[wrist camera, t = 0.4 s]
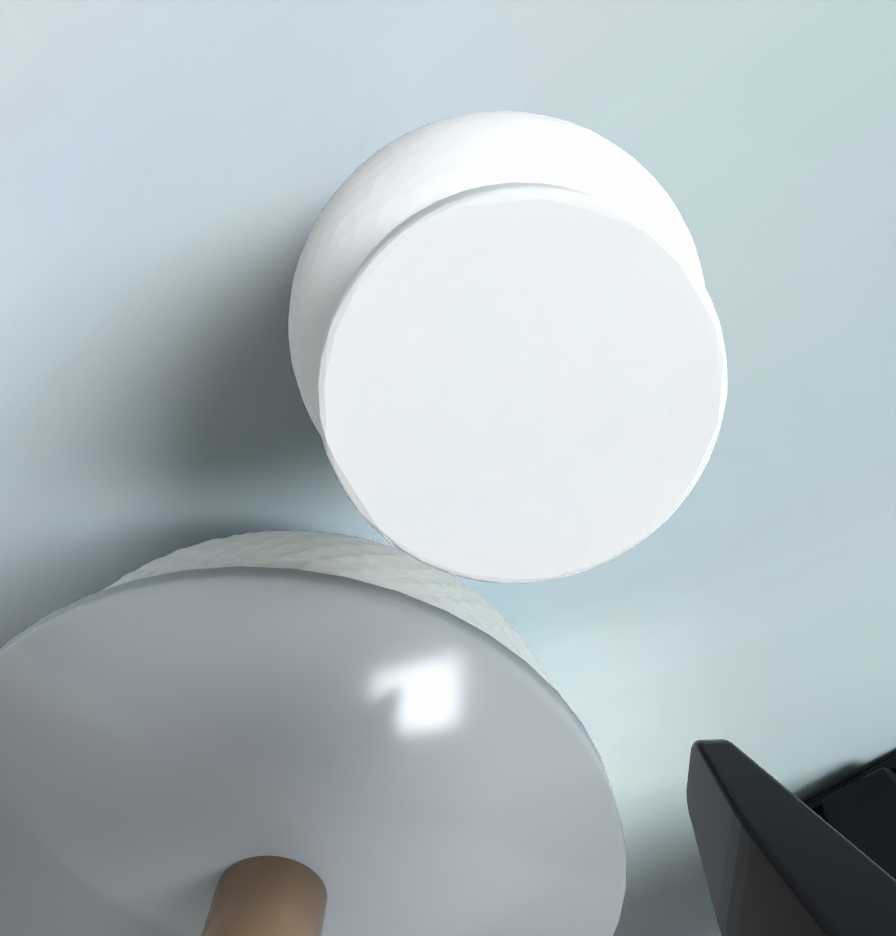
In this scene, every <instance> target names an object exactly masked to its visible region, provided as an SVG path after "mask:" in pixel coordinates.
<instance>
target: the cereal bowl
mask: <svg viewBox="0 0 896 936" xmlns="http://www.w3.org/2000/svg"><path fill="white" fill-rule="evenodd" d="M235 566H247V567H269V568H292V569H299V570H305V571H312V572H318V573H324V574H331V575H337V576H343V577H348V578H352V579H356V580H359V581H363V582H367V583H370V584H374V585H377V586H381V587H385V588H388V589H392V590H396V591H399V592H401V593H404V594H406V595H409V596H411V597H414V598H416V599H419V600H421V601H423V602H426V603H428V604H431V605H433V606H436V607H438V608H441V609H443V610H446V611H447V612H449V613H451V614H453V615H455V616H457V617H458V618H460V619H462V620H464V621H466V622H467V623H469V624H471V625H473V626H475V627H477V628H478V629H480V630H482V631H484V632H486V633H487V634H489V635H490V636H492V637H493V638H495V639H496V640H497V641H499V642H500V643H501V644H503V645H504V646H506V647H507V648H508V649H510V650H511V651H512V652H514V653H515V654H517V655H518V656H519V657H521V658H522V659H523V660H525V661H526V662H527V663H528V664H529V665H530V666H531V667H532V668H533V669H534V670H535V671H537V672H538V673H539V674H540V675H541V676H542V677H543V678H544V679H545V680H546V681H547V682H548V683H549V684H550V685H551V683H550V680H549V678H548V676H547V673H546V672H545V671H544V670H543V668H542V667H541V666H540V664H539V662H538V660H537V658H536V656H535V655H534V653H533V652H532V651H531V650H530V649H529V648H528V646H527V645H526V644H525V642H524V641H523V639H522V637H521V635H520V634H519V633H518V632H517V631H516V630H515V629H514V628H512V627H511V626H510V625H509V623H508V622H507V620H506V619H505V618H504V616H503V615H501V614H500V613H499V611H498V610H496V609H495V608H494V607H492V606H491V605H490V604H489V603H488V602H487V601H485V600H484V599H483V598H482V597H481V596H480V595H479V594H477V593H475V592H474V591H473V590H472V589H470V588H469V587H468V586H466V585H465V584H464V583H462V582H461V581H459V580H458V579H457V578H456V577H454V576H452V575H450V574H448V573H446V572H444V571H441V570H438V569H435V568H433V567H431V566H429V565H427V564H425V563H422V562H420V561H418V560H417V559H415V558H413V557H411V556H410V555H408V554H406V553H405V552H403V551H401V550H398V549H395V548H392V547H389V546H385V545H382V544H380V543H377V542H375V541H371V540H364V539H360V538H357V537H351V536H345V535H341V534H331V533H324V532H307V531H300V530H299V531H282V530H281V531H275V532H274V531H263V532H259V533H250V532H248V533H245V534H242V535H232V536H229V537H226V538H217V539H211V540H209V541H204V542H202V543H200V544H197V545H194V546H190V547H188V548H182V549H178V550H176V551H174V552H172V553H170V554H169V555H167V556H165V557H161V558H157V559H154V560H153V561H151V562H149V563H146V564H145V565H143V566H142V567H140V568H139V569H137V570H135V571H132V572H130V573H128V574H125V575H124V576H123V577H121V578H120V579H119V580H118V581H117V582H115V583H113V584H112V585H110V586H108V587H106V588H103V589H102V590H105V589H108V588H111V587H114V586H117V585H120V584H123V583H126V582H129V581H133V580H136V579H141V578H146V577H152V576H157V575H162V574H167V573H172V572H178V571H183V570H192V569H206V568H220V567H235ZM102 590H101V591H102ZM551 686H552V685H551Z"/></svg>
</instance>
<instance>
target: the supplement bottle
mask: <svg viewBox="0 0 896 936" xmlns="http://www.w3.org/2000/svg"><path fill="white" fill-rule="evenodd" d="M288 335H289V345H290V354H291V360H292V366H293V369H294V373H295V377H296V380H297V384H298V387H299V390H300V393H301V396H302V399H303V402H304V404H305V407H306V409H307V411H308V413H309V415H310V417H311V419H312V421H313V423H314V425H315V427H316V429H317V431H318V432H319V434H320V435H321V437H322V440H323V444H324V448H325V451H326V453H327V456H328V459H329V461H330V464H331V466H332V468H333V471H334V473H335V475H336V477H337V479H338V481H339V483H340V485H341V486H342V488H343V490H344V491H345V493H346V494H347V496H348V498H349V499H350V501H351V502H352V504H353V505H354V506H355V507H356V508H357V510H358V511H359V512H360V513H361V514H362V516H363V517H364V518H365V519H366V520H367V521H368V522H369V524H370V525H371V526H372V527H373V528H374V529H375V530H376V531H377V532H378V533H380V534H381V535H382V536H383V537H384V538H385V539H387V540H388V541H389V542H390V543H392V544H393V545H394V546H395V547H397V548H399V549H400V550H402V551H403V552H405V553H406V554H408V555H410V556H411V557H413V558H415V559H417V560H418V561H420V562H422V563H425V564H427V565H429V566H431V567H433V568H435V569H438V570H441V571H444V572H447V573H450V574H454V575H457V576H461V577H464V578H468V579H473V580H479V581H484V582H494V583H532V582H541V581H550V580H555V579H559V578H563V577H567V576H571V575H575V574H578V573H581V572H584V571H587V570H590V569H592V568H595V567H597V566H599V565H602V564H604V563H606V562H608V561H610V560H612V559H613V558H615V557H617V556H619V555H621V554H623V553H624V552H626V551H628V550H629V549H631V548H633V547H634V546H636V545H637V544H638V543H640V542H641V541H642V540H644V539H645V538H646V537H648V536H649V535H651V534H652V533H653V532H654V531H655V530H656V529H657V528H658V527H659V526H661V525H662V524H663V523H664V522H665V521H666V520H668V518H669V517H670V516H671V515H672V514H673V513H674V512H675V510H676V509H677V508H678V507H679V506H680V505H681V504H682V502H683V501H684V500H685V498H686V497H687V495H688V494H689V493H690V491H691V490H692V489H693V487H694V486H695V484H696V482H697V481H698V479H699V477H700V476H701V474H702V472H703V470H704V468H705V466H706V465H707V463H708V461H709V459H710V456H711V453H712V451H713V448H714V445H715V443H716V440H717V438H718V434H719V431H720V427H721V423H722V419H723V414H724V408H725V403H726V398H727V361H726V353H725V346H724V341H723V336H722V331H721V326H720V322H719V319H718V316H717V314H716V311H715V309H714V306H713V304H712V301H711V298H710V296H709V294H708V292H707V290H706V288H705V284H704V279H703V274H702V269H701V265H700V262H699V258H698V254H697V251H696V247H695V244H694V242H693V240H692V237H691V235H690V232H689V230H688V228H687V226H686V224H685V222H684V220H683V219H682V217H681V215H680V213H679V211H678V209H677V208H676V206H675V205H674V203H673V201H672V200H671V198H670V197H669V195H668V194H667V193H666V191H665V190H664V189H663V188H662V187H661V185H660V184H659V183H658V182H657V181H656V179H655V178H654V177H653V176H652V175H651V174H650V173H649V172H648V171H647V170H646V169H645V168H644V167H643V166H642V165H641V164H639V163H638V162H637V161H636V160H635V159H634V158H633V157H632V156H630V155H629V154H628V153H626V152H625V151H624V150H622V149H621V148H619V147H618V146H616V145H615V144H613V143H612V142H610V141H609V140H607V139H605V138H603V137H602V136H600V135H598V134H596V133H594V132H593V131H591V130H589V129H587V128H584V127H581V126H579V125H576V124H574V123H571V122H568V121H566V120H562V119H558V118H554V117H550V116H546V115H541V114H534V113H527V112H517V111H485V112H477V113H469V114H462V115H458V116H453V117H449V118H445V119H442V120H439V121H436V122H433V123H430V124H428V125H425V126H423V127H421V128H418V129H416V130H414V131H411V132H409V133H406V134H405V135H403V136H401V137H400V138H398V139H396V140H395V141H393V142H391V143H390V144H388V145H387V146H385V147H383V148H382V149H380V150H379V151H377V152H376V153H375V154H374V155H372V156H371V157H370V158H369V159H368V160H366V161H365V162H364V163H363V164H361V165H360V166H359V167H358V168H357V169H356V170H355V171H354V172H353V173H352V174H351V175H350V176H349V178H348V179H347V180H346V181H345V182H344V183H343V184H342V185H341V186H340V187H339V189H338V190H337V191H336V192H335V193H334V195H333V196H332V197H331V199H330V200H329V202H328V203H327V204H326V206H325V207H324V208H323V210H322V211H321V213H320V215H319V217H318V219H317V221H316V222H315V224H314V226H313V228H312V230H311V232H310V234H309V236H308V238H307V241H306V243H305V246H304V248H303V250H302V253H301V255H300V258H299V261H298V265H297V268H296V271H295V275H294V278H293V284H292V291H291V297H290V308H289V321H288Z"/></svg>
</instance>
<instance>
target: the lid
mask: <svg viewBox="0 0 896 936" xmlns="http://www.w3.org/2000/svg"><path fill="white" fill-rule="evenodd" d="M626 865H627V856H626V849H625V843H624V837H623V830H622V824H621V820H620V816H619V813H618V809H617V806H616V802H615V799H614V795H613V791H612V788H611V785H610V783H609V780H608V777H607V774H606V771H605V768H604V765H603V762H602V760H601V757H600V755H599V753H598V751H597V749H596V748H595V746H594V744H593V742H592V740H591V739H590V737H589V735H588V733H587V731H586V729H585V728H584V726H583V724H582V723H581V721H580V720H579V719H578V717H577V716H576V715H575V714H574V712H573V711H572V710H571V708H570V707H569V706H568V705H567V703H566V702H565V701H564V699H563V698H562V697H561V696H560V694H559V693H558V692H557V691H556V690H555V689H554V688H553V687H552V686H551V685H550V684H549V683H548V682H547V681H546V680H545V679H544V678H543V677H542V676H541V675H540V674H539V673H538V672H537V671H535V670H534V669H533V668H532V667H531V666H530V665H529V664H528V663H527V662H526V661H525V660H523V659H522V658H521V657H519V656H518V655H517V654H515V653H514V652H512V651H511V650H510V649H508V648H507V647H506V646H504V645H503V644H501V643H500V642H499V641H497V640H496V639H495V638H493V637H492V636H490V635H489V634H487V633H486V632H484V631H482V630H480V629H478V628H477V627H475V626H473V625H471V624H469V623H467V622H466V621H464V620H462V619H460V618H458V617H457V616H455V615H453V614H451V613H449V612H447V611H446V610H443V609H441V608H438V607H436V606H433V605H431V604H428V603H426V602H423V601H421V600H419V599H416V598H414V597H411V596H409V595H406V594H404V593H401V592H399V591H396V590H392V589H388V588H385V587H381V586H377V585H374V584H370V583H367V582H363V581H359V580H356V579H352V578H348V577H343V576H337V575H331V574H324V573H318V572H312V571H305V570H299V569H292V568H269V567H247V566H235V567H220V568H206V569H192V570H183V571H178V572H172V573H167V574H162V575H157V576H152V577H146V578H141V579H136V580H133V581H129V582H126V583H123V584H120V585H117V586H114V587H111V588H108V589H105V590H102V591H99V592H96V593H93V594H90V595H87V596H85V597H83V598H81V599H79V600H77V601H75V602H73V603H70V604H68V605H66V606H64V607H62V608H60V609H58V610H56V611H54V612H52V613H50V614H48V615H46V616H44V617H43V618H41V619H40V620H38V621H37V622H35V623H34V624H33V625H31V626H30V627H28V628H27V629H25V630H24V631H22V632H21V633H19V634H18V635H16V636H15V637H13V638H12V639H11V640H9V641H8V642H7V643H6V644H5V645H4V646H3V647H2V648H1V649H0V936H613V935H614V932H615V930H616V928H617V925H618V923H619V919H620V914H621V910H622V905H623V901H624V896H625V891H626Z"/></svg>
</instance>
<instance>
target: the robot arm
mask: <svg viewBox="0 0 896 936" xmlns="http://www.w3.org/2000/svg"><path fill="white" fill-rule="evenodd" d="M687 804H688V810H689V814H690V818H691V822H692V825H693V829H694V833H695V837H696V841H697V845H698V848H699V852H700V856H701V860H702V864H703V867H704V871H705V875H706V879H707V883H708V887H709V890H710V894H711V898H712V902H713V906H714V909H715V913H716V917H717V921H718V924H719V928H720V931H721V935H722V936H896V755H895V756H893V757H891V758H889V759H887V760H885V761H883V762H881V763H879V764H877V765H875V766H873V767H871V768H869V769H867V770H865V771H863V772H862V773H860V774H858V775H856V776H854V777H852V778H850V779H848V780H846V781H844V782H842V783H840V784H838V785H836V786H834V787H832V788H831V789H829V790H827V791H825V792H823V793H821V794H819V795H817V796H815V797H813V798H811V799H809V800H807V801H805V802H802V801H801V800H800V799H798V798H797V797H796V796H795V795H794V794H792V793H791V792H790V791H789V790H788V789H786V788H785V787H784V786H783V785H782V784H780V783H779V782H778V781H777V780H776V779H774V778H773V777H772V776H771V775H770V774H769V773H767V772H766V771H765V770H764V769H763V768H761V767H760V766H759V765H758V764H757V763H755V762H754V761H753V760H752V759H751V758H749V757H748V756H747V755H746V754H745V753H743V752H742V751H741V750H740V749H739V748H738V747H736V746H735V745H734V744H733V743H731V742H729V741H727V740H723V739H717V740H698V741H696V742H694V743H693V745H692V748H691V754H690V764H689V773H688V782H687Z"/></svg>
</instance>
